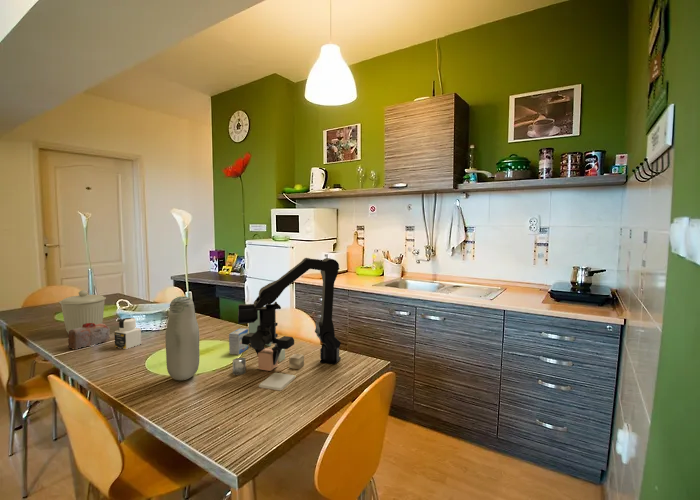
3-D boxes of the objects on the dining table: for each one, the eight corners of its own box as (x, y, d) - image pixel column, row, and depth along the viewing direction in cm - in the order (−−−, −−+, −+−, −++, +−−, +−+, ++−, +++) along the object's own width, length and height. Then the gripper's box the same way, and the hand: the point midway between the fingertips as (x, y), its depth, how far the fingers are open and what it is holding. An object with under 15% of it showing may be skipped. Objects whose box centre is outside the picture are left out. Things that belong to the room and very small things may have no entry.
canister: (85, 326, 177) (83, 286, 176) (116, 328, 174) (114, 287, 173) (50, 337, 159) (48, 293, 158) (84, 339, 156) (82, 294, 155)
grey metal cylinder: (248, 370, 122) (248, 358, 121) (241, 375, 117) (240, 363, 117) (237, 369, 123) (237, 357, 123) (230, 374, 119) (230, 361, 118)
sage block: (285, 358, 134) (285, 348, 133) (280, 362, 130) (280, 351, 130) (276, 357, 135) (276, 347, 135) (270, 361, 131) (270, 350, 131)
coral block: (277, 365, 125) (277, 349, 125) (270, 370, 120) (270, 354, 120) (265, 363, 127) (265, 348, 126) (258, 369, 122) (258, 352, 122)
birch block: (303, 365, 127) (303, 354, 127) (299, 369, 123) (299, 358, 123) (294, 364, 128) (294, 353, 128) (289, 368, 124) (289, 357, 124)
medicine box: (239, 355, 137) (238, 334, 136) (228, 354, 138) (228, 333, 137) (248, 348, 145) (248, 328, 144) (239, 347, 146) (238, 328, 145)
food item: (101, 339, 157) (100, 318, 156) (111, 341, 153) (111, 320, 153) (66, 348, 144) (65, 325, 144) (76, 351, 141) (75, 328, 140)
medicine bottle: (114, 347, 146) (113, 319, 145) (130, 342, 152) (129, 316, 152) (125, 349, 143) (124, 321, 142) (141, 344, 149) (140, 317, 149)
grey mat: (295, 377, 116) (295, 375, 116) (281, 390, 106) (281, 388, 106) (274, 374, 118) (274, 372, 118) (258, 387, 109) (258, 384, 109)
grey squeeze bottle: (168, 375, 118) (166, 295, 116) (200, 370, 122) (198, 293, 120) (165, 387, 109) (162, 300, 107) (200, 381, 113) (198, 298, 111)
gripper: (231, 325, 118) (232, 369, 119) (279, 329, 112) (279, 375, 113) (250, 317, 128) (250, 357, 129) (294, 321, 123) (295, 363, 124)
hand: (268, 363), depth 123 cm, fingers closed on coral block, 5 cm apart
